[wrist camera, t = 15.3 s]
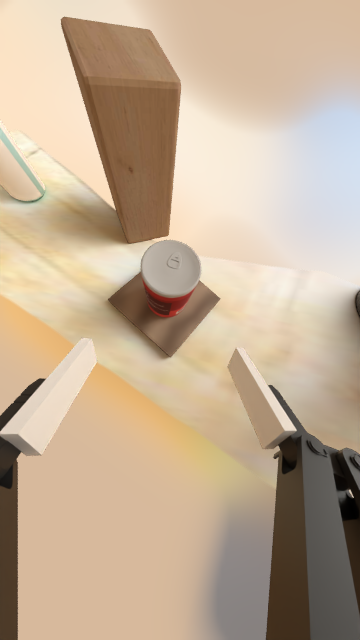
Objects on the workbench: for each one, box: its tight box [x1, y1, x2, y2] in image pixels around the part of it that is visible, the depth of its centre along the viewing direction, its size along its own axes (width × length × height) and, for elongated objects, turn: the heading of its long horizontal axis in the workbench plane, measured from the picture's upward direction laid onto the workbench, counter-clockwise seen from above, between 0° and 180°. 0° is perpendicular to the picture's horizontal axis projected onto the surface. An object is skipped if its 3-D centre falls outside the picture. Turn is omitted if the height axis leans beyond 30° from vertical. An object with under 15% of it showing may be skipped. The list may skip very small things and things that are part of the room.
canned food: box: [141, 240, 201, 317], centre depth 22 cm, size 8×8×11 cm
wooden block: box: [61, 17, 181, 243], centre depth 24 cm, size 10×10×20 cm
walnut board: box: [108, 272, 220, 357], centre depth 29 cm, size 16×16×2 cm
